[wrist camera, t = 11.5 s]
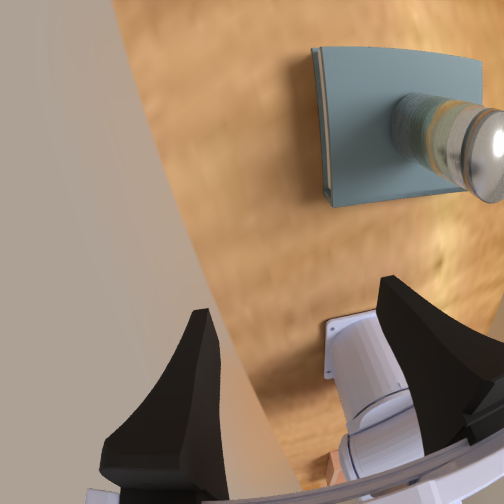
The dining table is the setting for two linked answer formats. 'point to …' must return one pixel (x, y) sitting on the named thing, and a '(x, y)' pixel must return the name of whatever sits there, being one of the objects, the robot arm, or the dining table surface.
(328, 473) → the open box
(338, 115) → the hardcover book
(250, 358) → the dining table surface
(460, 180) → the tea tin
